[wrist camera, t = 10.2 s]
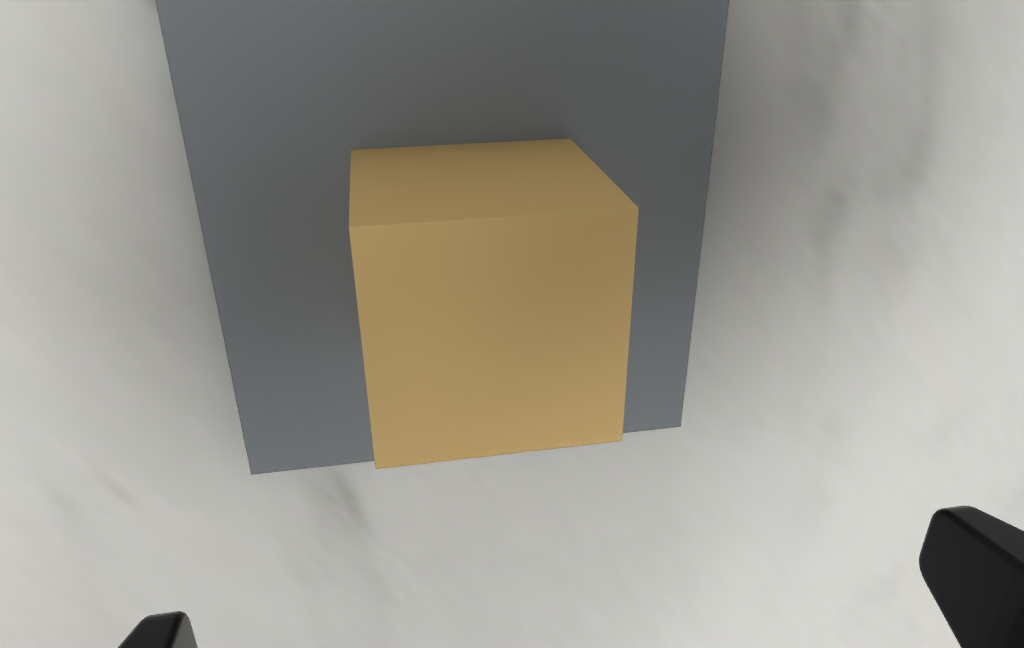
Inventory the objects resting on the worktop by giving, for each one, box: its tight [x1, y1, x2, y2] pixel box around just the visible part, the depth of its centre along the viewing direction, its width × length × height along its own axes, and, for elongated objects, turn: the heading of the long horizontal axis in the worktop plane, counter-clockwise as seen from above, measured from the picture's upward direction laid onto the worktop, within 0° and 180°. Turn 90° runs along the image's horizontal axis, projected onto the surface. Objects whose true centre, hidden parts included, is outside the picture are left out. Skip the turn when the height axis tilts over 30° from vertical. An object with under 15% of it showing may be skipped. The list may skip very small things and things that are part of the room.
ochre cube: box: [349, 138, 639, 469], centre depth 17 cm, size 5×5×5 cm
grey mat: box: [156, 0, 729, 475], centre depth 19 cm, size 12×12×1 cm
